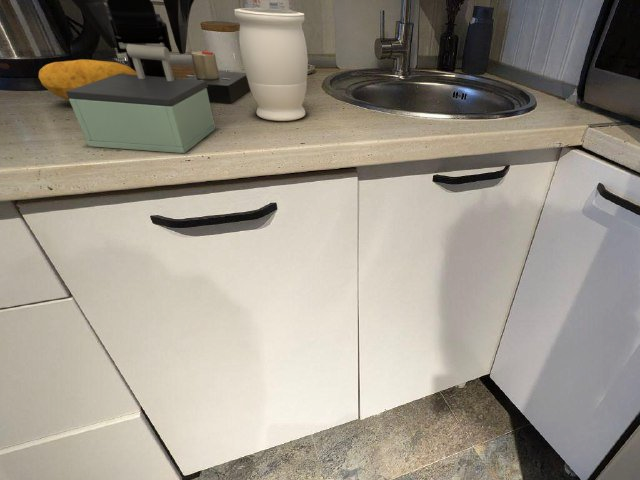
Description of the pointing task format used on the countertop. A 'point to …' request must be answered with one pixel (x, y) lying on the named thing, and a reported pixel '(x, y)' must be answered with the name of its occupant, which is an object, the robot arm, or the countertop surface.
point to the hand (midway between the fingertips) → (148, 50)
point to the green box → (145, 123)
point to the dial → (205, 65)
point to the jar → (274, 60)
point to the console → (226, 86)
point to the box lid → (141, 82)
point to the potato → (78, 74)
